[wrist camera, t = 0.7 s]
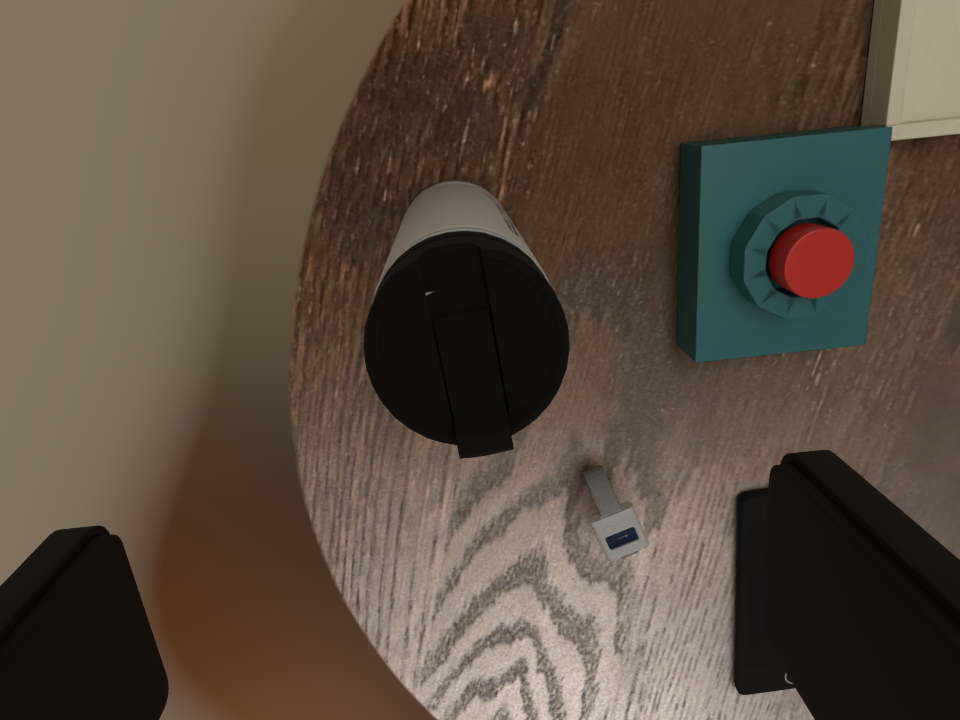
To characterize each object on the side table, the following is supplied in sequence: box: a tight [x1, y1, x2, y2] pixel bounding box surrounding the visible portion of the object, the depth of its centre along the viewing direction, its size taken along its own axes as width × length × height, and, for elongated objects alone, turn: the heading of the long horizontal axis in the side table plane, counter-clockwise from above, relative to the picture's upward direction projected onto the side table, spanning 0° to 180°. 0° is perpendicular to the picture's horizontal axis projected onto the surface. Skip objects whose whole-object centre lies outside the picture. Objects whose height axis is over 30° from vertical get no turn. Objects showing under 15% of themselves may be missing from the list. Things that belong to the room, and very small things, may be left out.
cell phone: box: [735, 488, 795, 695], centre depth 47 cm, size 9×18×1 cm, turn 7°
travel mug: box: [364, 180, 569, 459], centre depth 28 cm, size 6×7×20 cm
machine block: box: [677, 126, 893, 363], centre depth 36 cm, size 12×10×5 cm
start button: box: [769, 223, 855, 298], centre depth 33 cm, size 4×4×2 cm
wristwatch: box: [583, 465, 649, 561], centre depth 42 cm, size 6×3×5 cm, turn 24°
